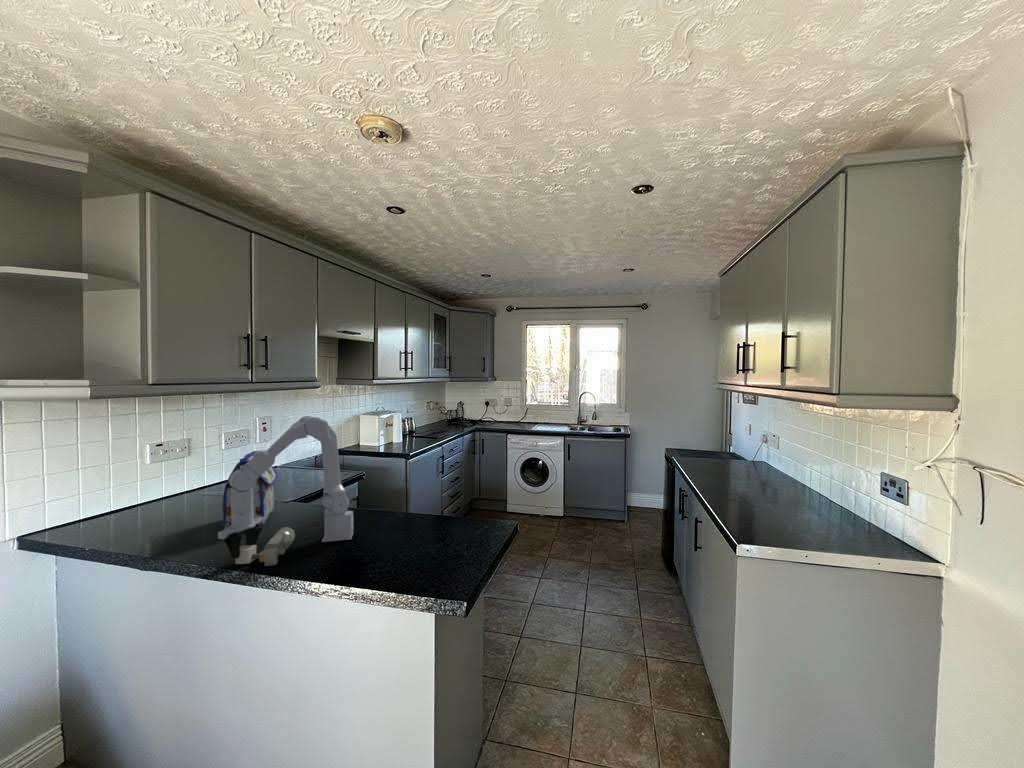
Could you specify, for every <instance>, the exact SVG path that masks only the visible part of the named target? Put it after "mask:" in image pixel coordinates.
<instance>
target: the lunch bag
mask: <svg viewBox="0 0 1024 768" xmlns="http://www.w3.org/2000/svg"><path fill="white" fill-rule="evenodd" d="M260 451H261V450H254V451H251V452H249V453H247V454H245V455H244V456H243V458H240V459H239V462H237V464H236V465H235V467H234V468H233V469H232V471H231V473H230V475H229V476H228V479H227V481H226V484H225V487H224V491H223V496H222V523H221V529H220V531H222V530H224V529H226V528H227V527H229V526H231V495H232V493H231V488H232V486H231V485H230V484H229V482H228V480H229V479H230V476H231V474H232V473H233V472H235V471H237V470H241V469H240V466H241V465H243V466H244V465H245V464H246V463H247V462H248V461H249V460H251V459H252V458H253V457H254V456H253V454H254V453H255V452H256V453H258V452H260ZM277 479H278V472H277V470H276V469H275V467H274V466H273V465H272V466H271V467H270V468H269V469H268V470H266V471H265V472H264V473H263V474H262V475H261V476H260V477H259V478H257V479H256V483H255V485H254V486H253V512H254V518H257V517H265V522H266V520H267V519H268V518H269V516H270V514H271V513H272V512H273V511H274V509H275V491H274V490H275V486H274V485H275V482H276V481H277ZM264 525H265V523H264V524H259V526H262V527H263V528H264Z"/></svg>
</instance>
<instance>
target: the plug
mask: <svg viewBox="0 0 1024 768" xmlns="http://www.w3.org/2000/svg"><path fill="white" fill-rule="evenodd" d="M234 560H235V565H245V564H251V563H252V562H254V560H259V563H263V562H264V563H265V561H264V549H263V550H261V551H260V552H259V553H257V544H256V545H247V544H245V545H240V555H239V558H237V559H236V558H234Z"/></svg>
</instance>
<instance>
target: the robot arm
mask: <svg viewBox="0 0 1024 768" xmlns="http://www.w3.org/2000/svg"><path fill="white" fill-rule="evenodd" d="M308 436H310V437H312V438H314V439H315V440H317V441H318V442H319V443H320V447H321V448H320V449H321V456H322V457H321V459H322V468H323V477H324V487H323V495H322V498H321V505H322V506H323V508H324V517H323V518H324V519H323V520H324V536H323V537H322V540H321V543H328V542H337V541H348V540H350V541H351V540H352V538H353V535H354V530H355V529H354V511H353V510H348V509H349V507H350V499H349V497H348V496H347V494H346V490H345V488H344V486H343V485H342V477H341V476H342V475H341V465H340V458H339V447H338V437H337V434H336V432H335V431H334V430H333V429H332V427H331V426H330V425H329V423H328V421H326V420H325V419H323V418H320V417H315V416H311V415H305V416H302V417H301V418H300V419H298V421H296V422H294V423H293V424H292V425H291V426H290V427H289V428H288V429H287V430H286V431H285V432H284V433H283V434H282V435H281V436H280V437H279V438H278V439H276V441H275V442H274V443H273V444H272V445H271V446H270V447H269V448H268V449H266V450H259V451H260V452H258V453H256V452H255V453H254V454H253V456H254V457H253V458H252V459H251V460H249V461H248V462H247V463H246V464H245V465H244V466H243V465H241V466H240V469H241V470H237V471H235V472H233V473H232V472H231V473H232V474H231V473H230V474H231V476H230V475H229V476H230V479H229V480H228V479H227V481H228V482H229V484H230V485H231V486H232V488H231V493H232V495H231V526H229V527H227V528H226V529H224V530H220V531H218V532H217V539H219V540H222V541H223V542H224V543H225V544H226V546H227V549H228V550H229V553H230V557H231V559H235V558H236V559H237V558H239V555H240V547H241V543H242V539H243V535H239V534H238V533H241V532H243V531H244V535H245V540H246V544H245V545H256V546H257V541H258V538H259V536H260V535H261V532H262V531H263V529H264V526H263V527H262V526H259V524H264V525H265V524H266V521H265V517H257V518H254V512H253V486H254V485H255V483H256V479H257V478H259V477H260V476H261V475H262V474H263V473H264V472H265V471H266V470H268V469H269V468H270V467H271V466H273V465H274V464H275V461H276V457H277V456H279V454H281V453H282V452H283V451H284V450H285V449H287V448H289V446H290V445H291V444H293V443H294V442H295V441H297V440H301V439H305V438H308Z"/></svg>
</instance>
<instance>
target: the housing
mask: <svg viewBox="0 0 1024 768" xmlns="http://www.w3.org/2000/svg"><path fill="white" fill-rule="evenodd" d="M295 537H296V532H295V531H294V529H293V528H292V527H288V526H284V527H282V528H280V529H278V531H277V532H276V533H275V534H273V536H272V537H271V538H270V540H269V541H268V542H267V543H266V544H265V545H264V547H263V550H264V561H265V562H264V567H269V566H276V565H277V564H278V559H279V558H278V557H279V556H280V555H284V554H285V553H286V551H287V549H289V547H290V545H291V544H292V543H293V541H294V540H295Z"/></svg>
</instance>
